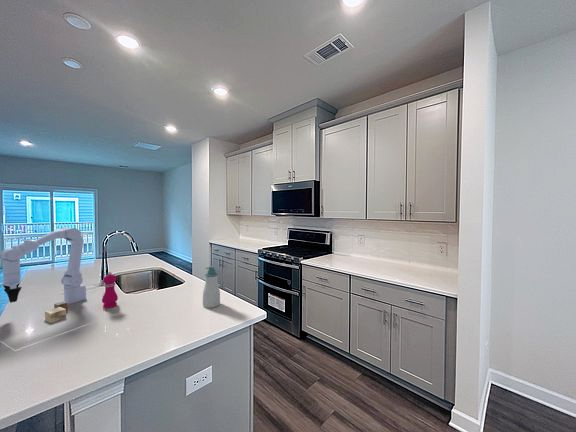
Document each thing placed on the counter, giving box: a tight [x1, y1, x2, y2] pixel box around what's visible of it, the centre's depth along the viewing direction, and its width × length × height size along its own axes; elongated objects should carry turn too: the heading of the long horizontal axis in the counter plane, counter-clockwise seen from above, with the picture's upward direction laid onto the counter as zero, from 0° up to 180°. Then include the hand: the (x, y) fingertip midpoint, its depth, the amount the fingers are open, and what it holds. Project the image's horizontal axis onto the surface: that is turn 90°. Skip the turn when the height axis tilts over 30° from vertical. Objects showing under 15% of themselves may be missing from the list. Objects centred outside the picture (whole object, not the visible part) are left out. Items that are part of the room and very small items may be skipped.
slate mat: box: [43, 315, 68, 323], centre depth 127 cm, size 12×14×1 cm
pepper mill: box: [101, 271, 119, 309], centre depth 138 cm, size 7×7×20 cm
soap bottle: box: [202, 265, 221, 309], centre depth 143 cm, size 10×10×23 cm
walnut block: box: [53, 300, 69, 312], centre depth 131 cm, size 4×4×4 cm
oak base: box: [44, 307, 67, 323], centre depth 123 cm, size 6×6×4 cm
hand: (12, 299), depth 121 cm, fingers open, 7 cm apart
